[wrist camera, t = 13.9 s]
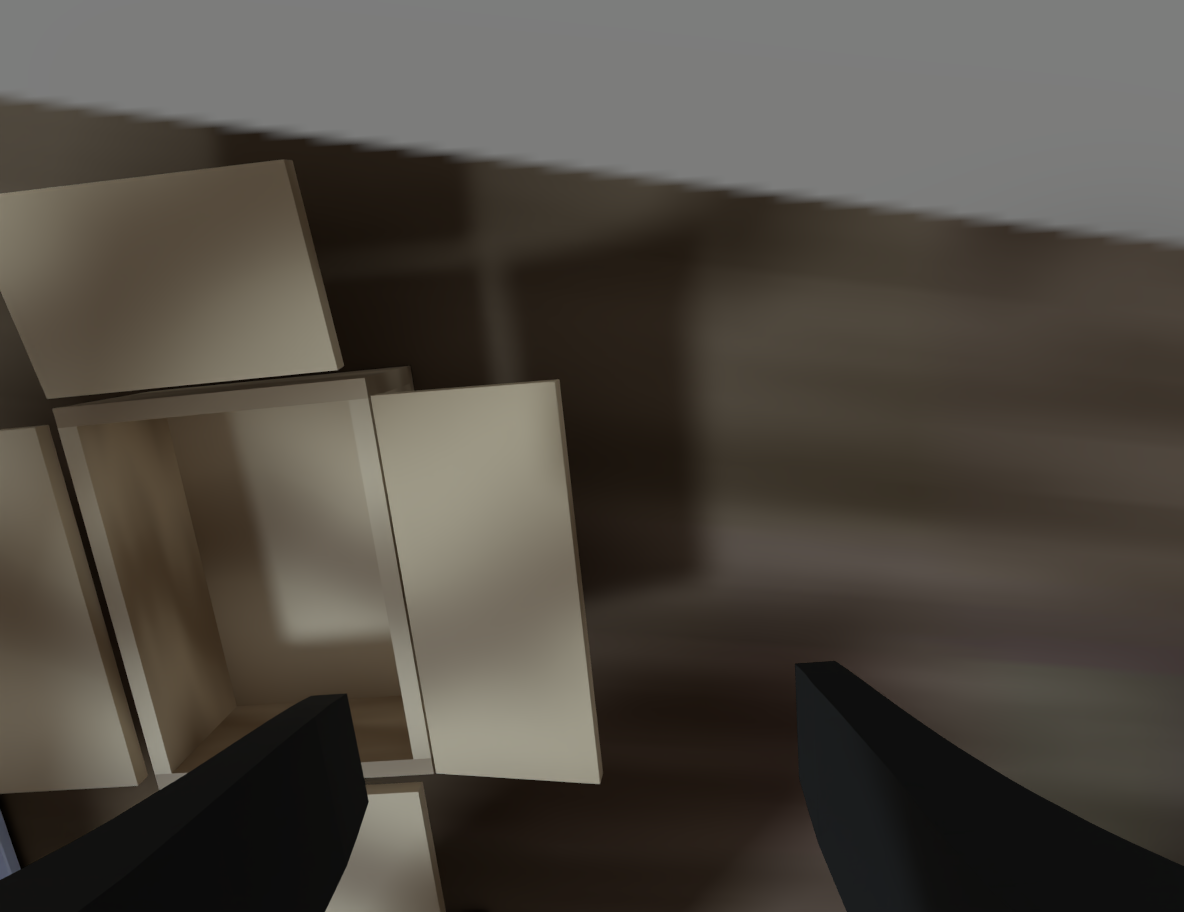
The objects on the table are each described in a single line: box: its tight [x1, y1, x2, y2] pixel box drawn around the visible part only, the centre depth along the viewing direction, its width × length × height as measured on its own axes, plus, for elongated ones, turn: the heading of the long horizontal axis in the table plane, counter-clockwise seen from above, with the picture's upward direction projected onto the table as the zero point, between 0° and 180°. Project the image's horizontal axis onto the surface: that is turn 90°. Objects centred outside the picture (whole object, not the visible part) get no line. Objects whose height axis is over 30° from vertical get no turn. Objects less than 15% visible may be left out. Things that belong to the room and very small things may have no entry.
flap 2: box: [371, 379, 603, 784], centre depth 16 cm, size 10×4×1 cm, turn 6°
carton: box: [0, 366, 446, 912], centre depth 19 cm, size 16×13×4 cm
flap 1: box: [0, 159, 344, 399], centre depth 15 cm, size 4×7×1 cm, turn 96°
